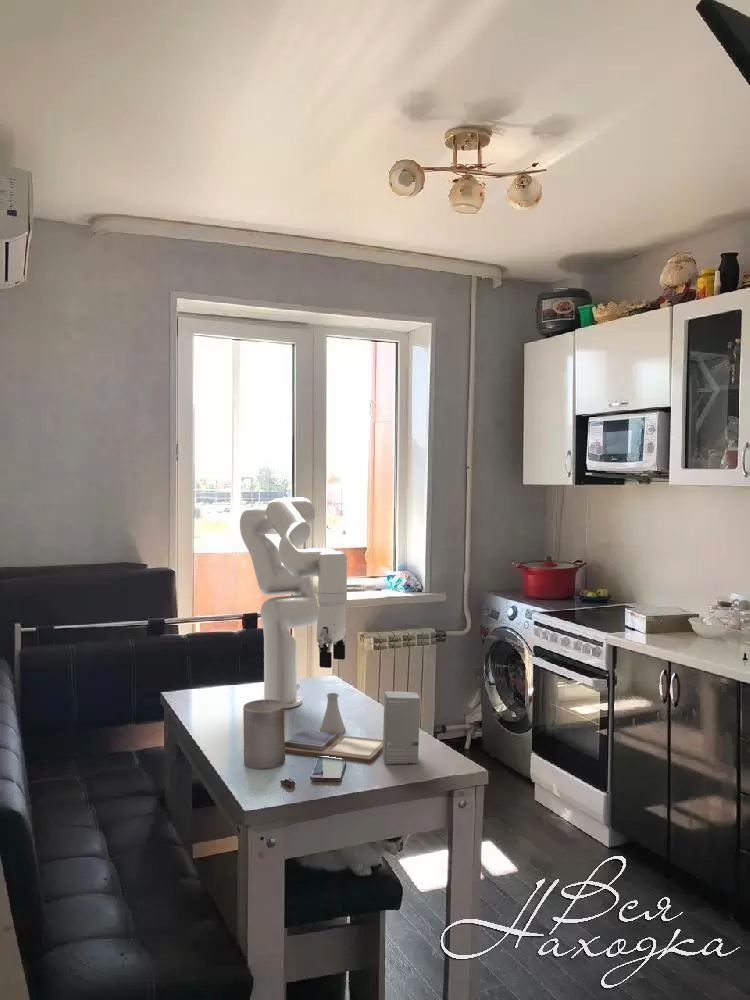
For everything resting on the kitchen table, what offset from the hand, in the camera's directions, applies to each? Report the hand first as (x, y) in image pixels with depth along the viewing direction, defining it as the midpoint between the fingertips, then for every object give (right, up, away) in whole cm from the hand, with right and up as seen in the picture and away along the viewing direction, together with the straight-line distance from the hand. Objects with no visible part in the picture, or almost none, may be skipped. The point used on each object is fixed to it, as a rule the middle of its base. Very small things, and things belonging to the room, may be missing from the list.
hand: (332, 663), depth 214 cm
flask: (0, -19, +1) cm, 19 cm away
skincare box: (+17, -19, -20) cm, 33 cm away
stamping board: (+1, -19, -12) cm, 22 cm away
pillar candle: (-15, -19, -22) cm, 33 cm away
